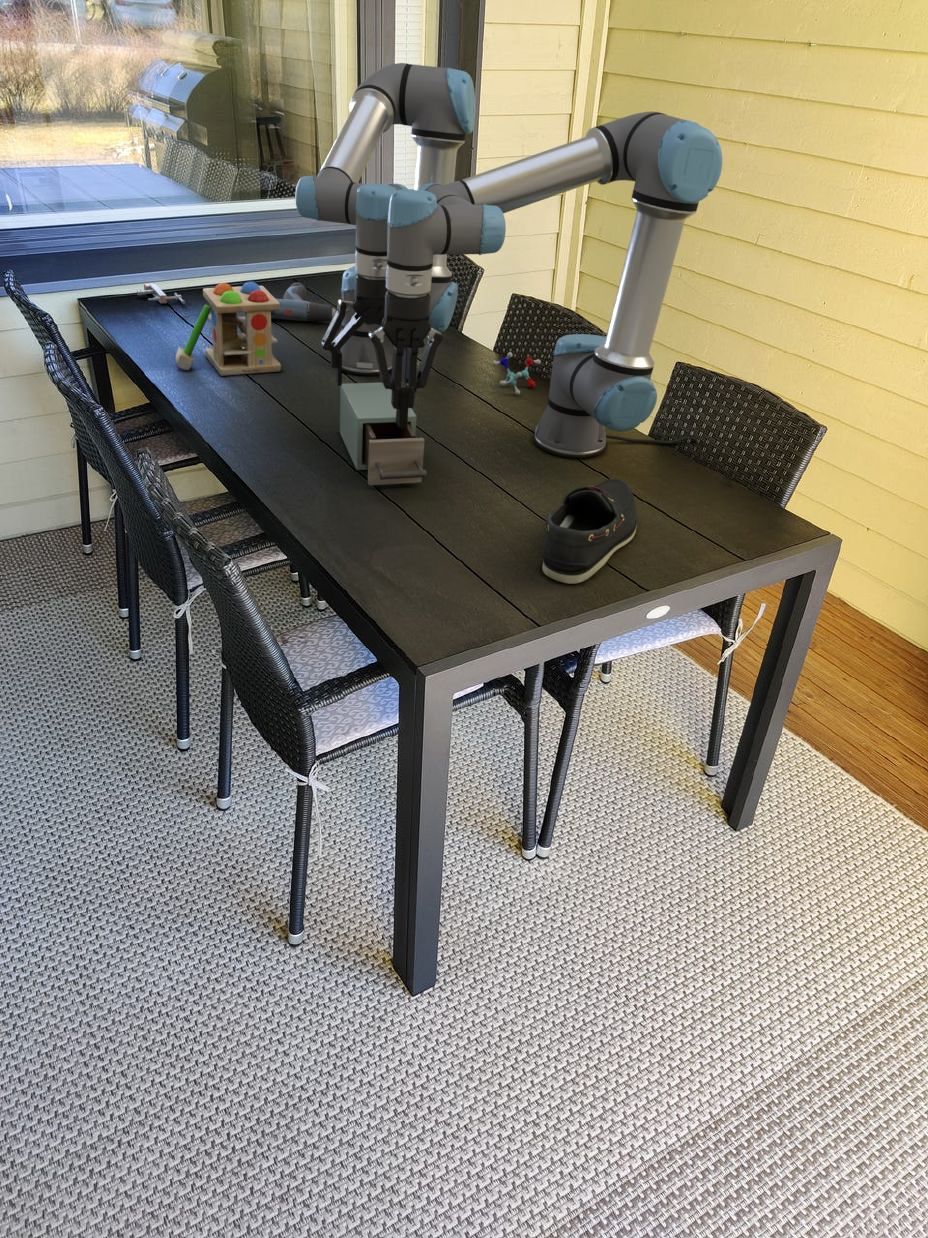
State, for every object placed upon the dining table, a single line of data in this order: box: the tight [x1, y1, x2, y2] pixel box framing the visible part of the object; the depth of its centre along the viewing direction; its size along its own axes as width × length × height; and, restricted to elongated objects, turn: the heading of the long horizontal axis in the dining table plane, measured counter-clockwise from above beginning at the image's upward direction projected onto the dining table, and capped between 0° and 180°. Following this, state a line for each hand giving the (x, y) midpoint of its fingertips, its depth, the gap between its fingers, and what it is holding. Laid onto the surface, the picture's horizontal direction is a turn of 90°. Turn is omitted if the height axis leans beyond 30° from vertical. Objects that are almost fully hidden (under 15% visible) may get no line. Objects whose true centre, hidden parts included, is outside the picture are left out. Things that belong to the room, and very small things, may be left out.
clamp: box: [136, 283, 186, 305], centre depth 265 cm, size 15×2×10 cm
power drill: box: [271, 282, 337, 323], centre depth 265 cm, size 5×19×20 cm
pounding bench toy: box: [174, 281, 282, 377], centre depth 225 cm, size 23×14×18 cm, turn 116°
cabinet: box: [339, 382, 417, 471], centre depth 196 cm, size 18×11×11 cm, turn 17°
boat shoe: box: [541, 478, 638, 585], centre depth 172 cm, size 13×33×10 cm, turn 147°
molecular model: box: [491, 351, 542, 396], centre depth 231 cm, size 12×10×10 cm
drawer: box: [362, 422, 428, 486], centre depth 186 cm, size 22×10×9 cm, turn 17°
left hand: (372, 382), depth 197 cm, fingers open, 13 cm apart
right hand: (401, 424), depth 176 cm, fingers closed
